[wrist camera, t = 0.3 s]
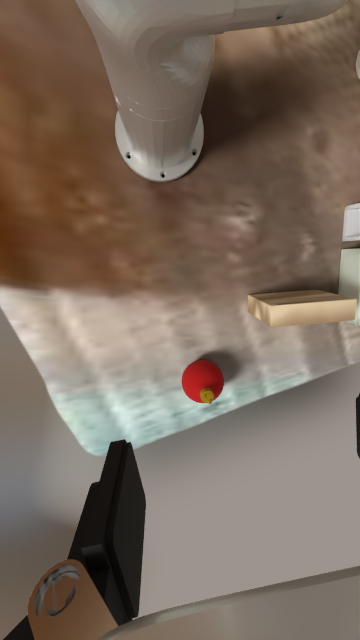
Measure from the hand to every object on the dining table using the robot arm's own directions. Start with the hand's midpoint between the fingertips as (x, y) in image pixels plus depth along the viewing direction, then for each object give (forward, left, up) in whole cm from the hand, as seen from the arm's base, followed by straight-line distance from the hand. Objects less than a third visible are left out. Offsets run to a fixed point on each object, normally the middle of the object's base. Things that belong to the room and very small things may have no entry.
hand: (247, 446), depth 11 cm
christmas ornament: (+14, +2, -36) cm, 38 cm away
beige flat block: (+2, +17, -35) cm, 39 cm away
